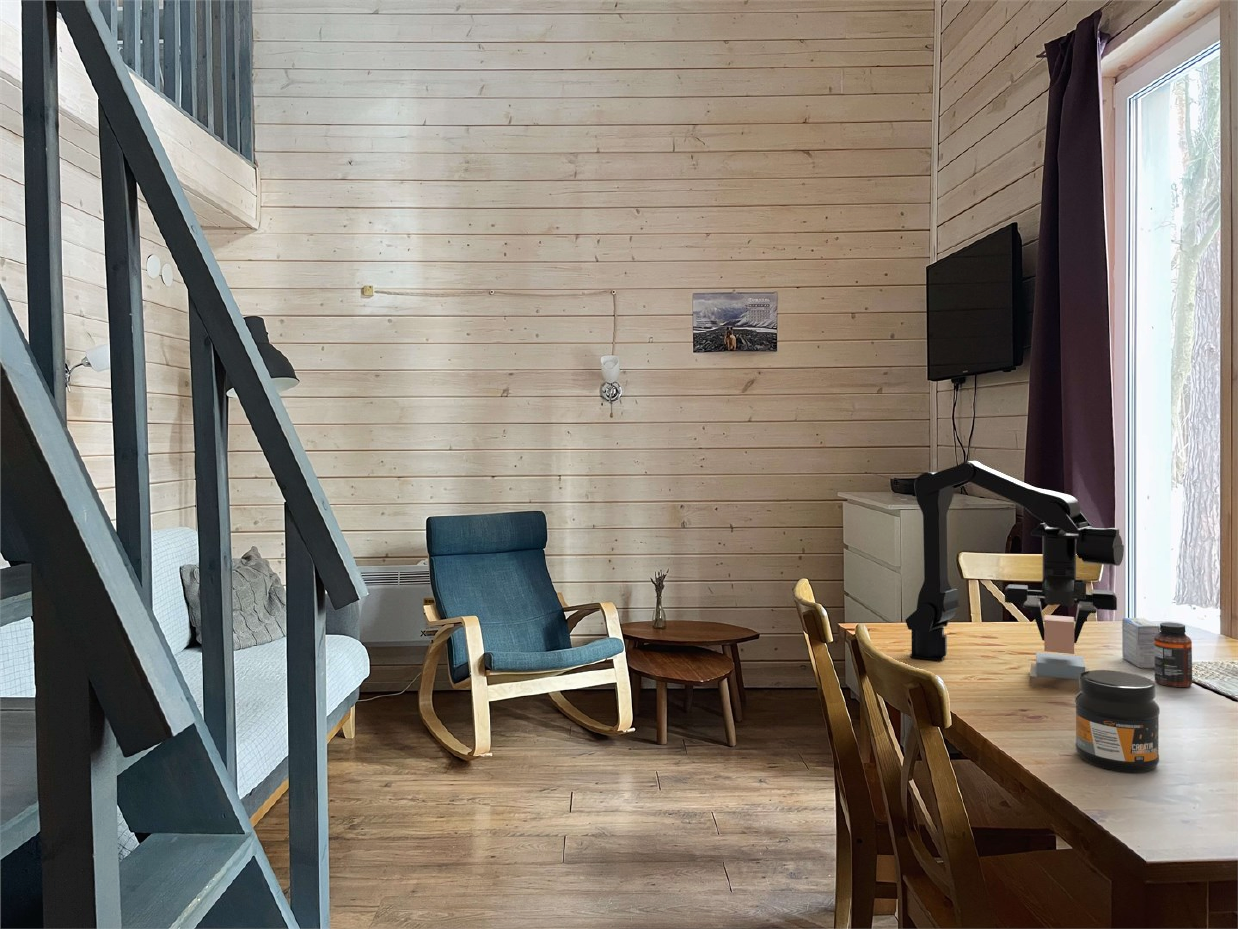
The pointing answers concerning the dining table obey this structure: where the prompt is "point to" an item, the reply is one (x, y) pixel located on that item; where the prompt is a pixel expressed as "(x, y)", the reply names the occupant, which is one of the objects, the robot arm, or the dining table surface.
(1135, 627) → the medicine box
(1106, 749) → the supplement container
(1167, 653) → the supplement bottle
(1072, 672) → the slate slab
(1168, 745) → the dining table surface
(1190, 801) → the dining table surface
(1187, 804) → the dining table surface
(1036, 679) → the walnut slab
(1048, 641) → the terracotta block
